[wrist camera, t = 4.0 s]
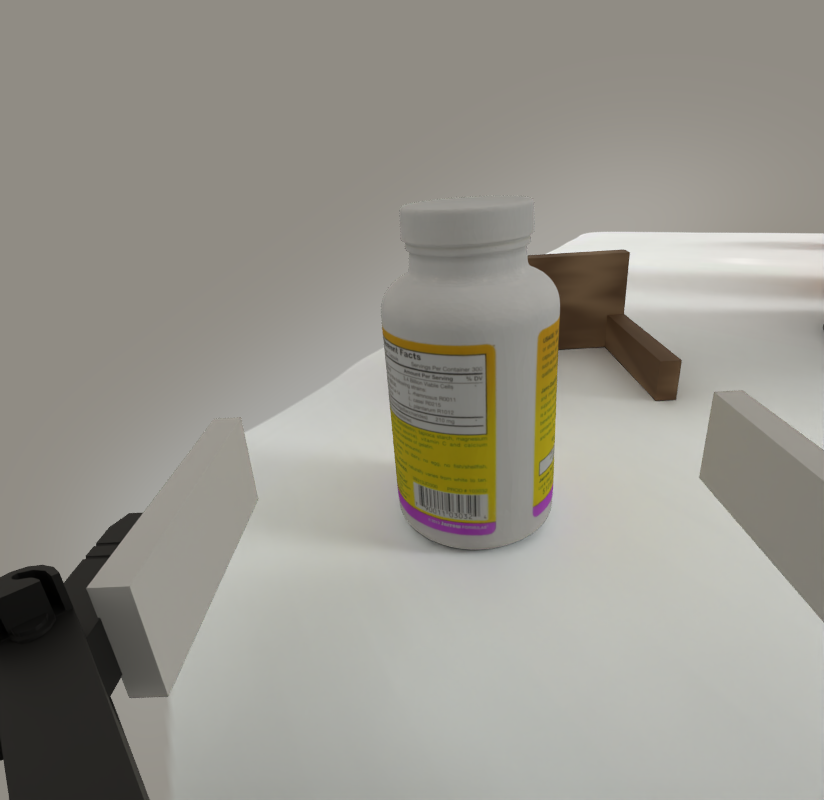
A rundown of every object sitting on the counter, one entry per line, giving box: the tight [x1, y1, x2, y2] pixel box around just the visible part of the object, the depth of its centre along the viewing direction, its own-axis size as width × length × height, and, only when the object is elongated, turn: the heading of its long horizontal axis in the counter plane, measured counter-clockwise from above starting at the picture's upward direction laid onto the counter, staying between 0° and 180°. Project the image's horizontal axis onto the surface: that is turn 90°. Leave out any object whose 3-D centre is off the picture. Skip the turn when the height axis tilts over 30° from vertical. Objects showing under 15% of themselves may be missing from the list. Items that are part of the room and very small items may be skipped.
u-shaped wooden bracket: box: [528, 250, 682, 401], centre depth 37 cm, size 12×11×7 cm
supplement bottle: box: [381, 196, 560, 550], centre depth 22 cm, size 7×7×13 cm
